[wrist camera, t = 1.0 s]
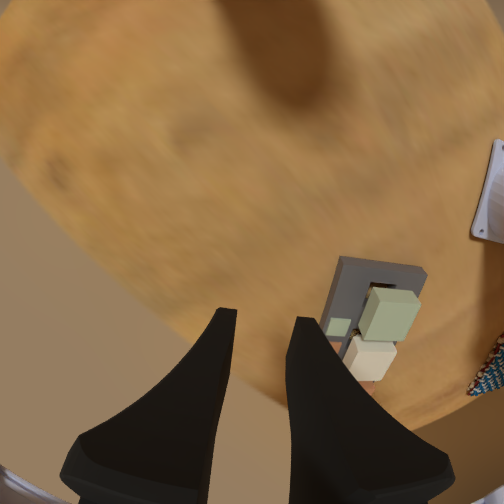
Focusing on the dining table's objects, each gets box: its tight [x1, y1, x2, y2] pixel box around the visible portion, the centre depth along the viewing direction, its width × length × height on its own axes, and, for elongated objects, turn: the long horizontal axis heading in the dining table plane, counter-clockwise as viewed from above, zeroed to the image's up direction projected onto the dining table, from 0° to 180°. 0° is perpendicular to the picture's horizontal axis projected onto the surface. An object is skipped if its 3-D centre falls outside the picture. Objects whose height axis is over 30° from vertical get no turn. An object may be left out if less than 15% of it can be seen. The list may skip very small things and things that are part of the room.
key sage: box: [358, 287, 421, 341], centre depth 19 cm, size 3×3×3 cm
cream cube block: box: [343, 334, 397, 381], centre depth 21 cm, size 3×3×3 cm
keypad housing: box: [319, 256, 428, 383], centre depth 23 cm, size 7×13×1 cm, turn 173°
